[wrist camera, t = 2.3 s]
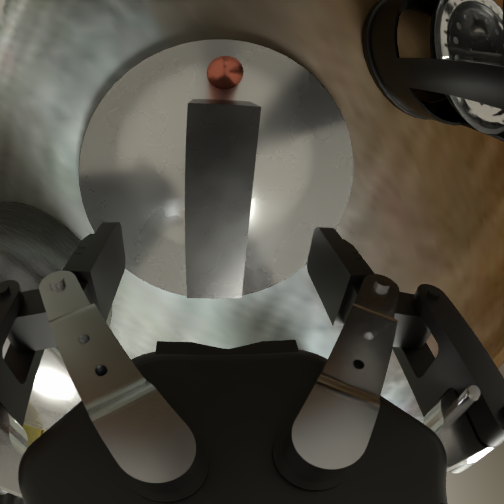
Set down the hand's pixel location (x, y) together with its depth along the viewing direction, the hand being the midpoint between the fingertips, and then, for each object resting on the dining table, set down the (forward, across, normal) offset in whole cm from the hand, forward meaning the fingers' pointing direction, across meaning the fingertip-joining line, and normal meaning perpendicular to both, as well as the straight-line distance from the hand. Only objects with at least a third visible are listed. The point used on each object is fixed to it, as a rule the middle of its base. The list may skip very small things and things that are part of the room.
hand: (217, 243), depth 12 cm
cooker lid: (+7, 0, 0) cm, 7 cm away
